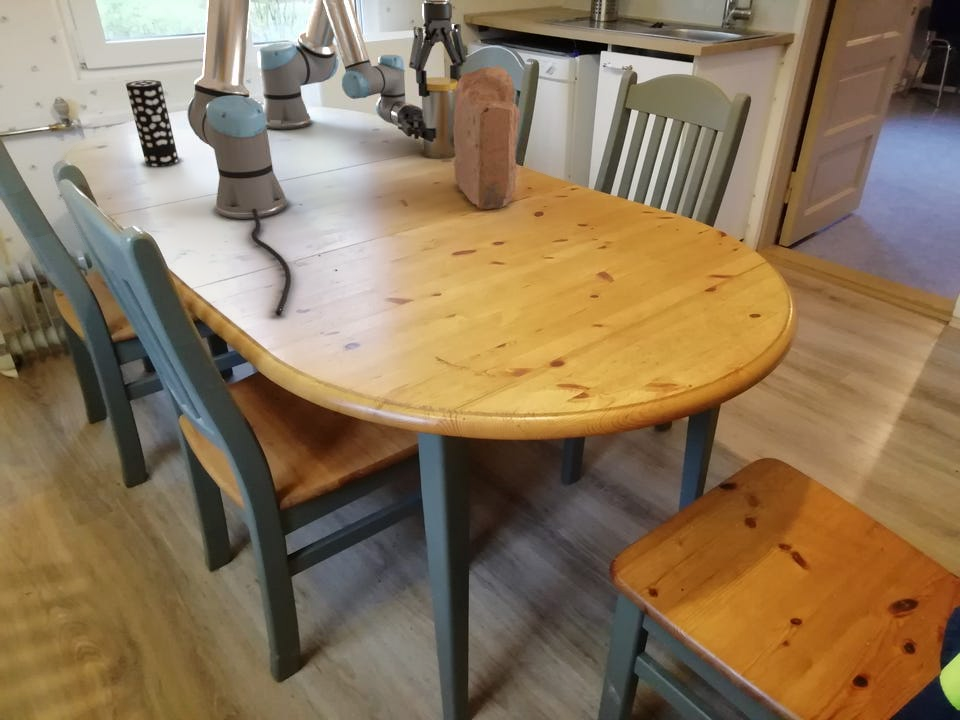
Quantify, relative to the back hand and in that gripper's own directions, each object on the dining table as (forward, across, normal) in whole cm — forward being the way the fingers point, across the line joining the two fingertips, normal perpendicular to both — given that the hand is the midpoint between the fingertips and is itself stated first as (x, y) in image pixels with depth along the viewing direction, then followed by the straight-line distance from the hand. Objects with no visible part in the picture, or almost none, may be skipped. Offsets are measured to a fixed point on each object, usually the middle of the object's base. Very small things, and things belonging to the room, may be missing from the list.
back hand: (447, 134), depth 190 cm
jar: (-4, 0, -6) cm, 8 cm away
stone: (+31, +8, -6) cm, 33 cm away
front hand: (-4, 0, +10) cm, 11 cm away
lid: (-4, 0, +13) cm, 14 cm away
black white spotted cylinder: (-37, +68, +4) cm, 78 cm away
